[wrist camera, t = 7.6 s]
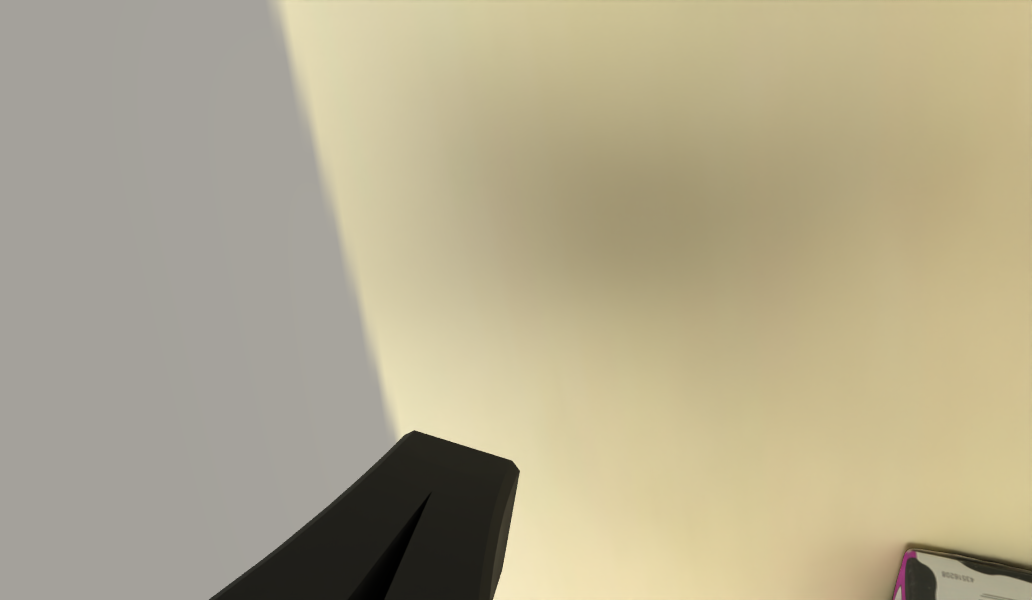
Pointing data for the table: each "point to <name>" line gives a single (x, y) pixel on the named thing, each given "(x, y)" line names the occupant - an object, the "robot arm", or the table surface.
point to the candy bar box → (959, 578)
